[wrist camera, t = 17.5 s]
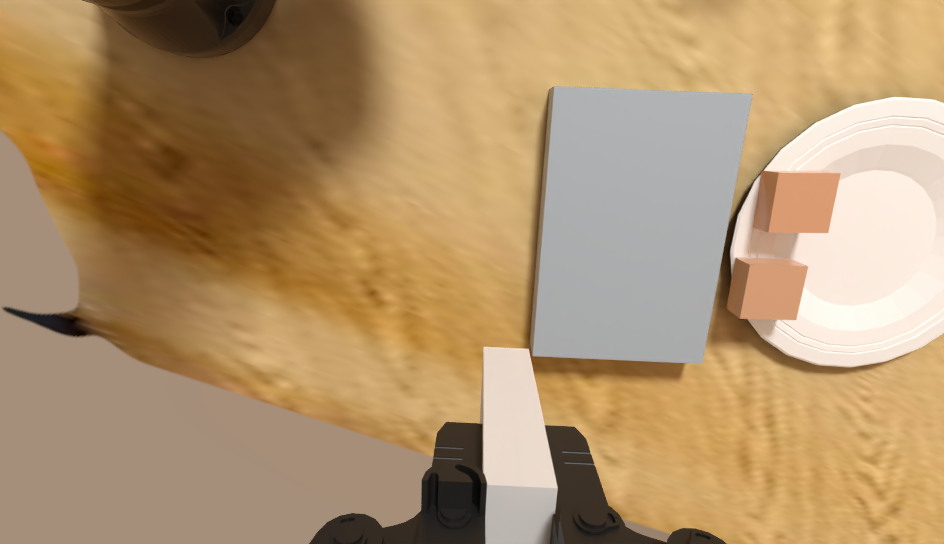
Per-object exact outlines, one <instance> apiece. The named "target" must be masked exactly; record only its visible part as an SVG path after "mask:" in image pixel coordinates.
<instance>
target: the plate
mask: <svg viewBox="0 0 944 544" xmlns="http://www.w3.org/2000/svg"><path fill="white" fill-rule="evenodd" d="M763 171H824V172H834V173H841V174H840V179H839V184H838V189H837V193H836V198H835V203H834V208H833V212H832V217H831V222H830V227H829V232H828V233H768V232H765V231H762V230H759V229H756V228H754V227H753V222H754V216H755V210H756V204H757V198H758V192H759V186H760V180H761V174H762V172H761V173H760V174H759V176H758V177H757V178H756V179H755V180H754V182H753V184H752V186H751V188H750V190H749V192H748V194H747V196H746V198H745V200H744V202H743V204H742V206H741V208H740V211H739V213H738V215H737V218H736V223H735V227H734V232H733V236H732V241H731V246H730V250H729V252H730V269H731V280H732V275H733V269H734V264H735V258H773V259H792V260H794V261H797V262H799V263H802V264H804V265H806V266H808V270H807V274H806V279H805V283H804V288H803V292H802V297H801V301H800V305H799V310H798V314H797V319H796V320H771V319H747V320H748V321H749V322H750V324H751V325H752V326H753V328H754V329H755V330H756V331H757V333H758V334H759V335H760V337H761V338H763V339H764V340H766V341H767V342H769V343H770V344H771V345H773V346H774V347H776V348H777V349H779V350H780V351H782V352H783V353H784V354H786V355H788V356H791V357H794V358H797V359H800V360H803V361H806V362H809V363H812V364H815V365H820V366H835V367H849V368H851V367H857V366H863V365H869V364H876V363H882V362H886V361H889V360H892V359H894V358H897V357H899V356H902V355H905V354H907V353H910V352H912V351H915V350H917V349H920V348H921V347H923V346H925V345H926V344H928V343H929V342H931V341H932V340H934V339H936V338H937V337H939V336H940V335H942V334H943V333H944V103H941V102H939V101H936V100H934V99H919V98H904V97H891V98H886V99H881V100H876V101H871V102H866V103H861V104H856V105H852V106H850V107H847V108H845V109H843V110H841V111H839V112H837V113H835V114H832V115H830V116H828V117H826V118H824V119H822V120H820V121H817V122H815V123H813V124H812V125H811V126H810V127H808V128H807V129H806V130H804V131H803V132H802V133H801V134H799V135H798V136H797V137H795V138H794V139H793V140H792V141H790V142H789V143H788V144H786V145H785V146H784V147H782V148H781V149H780V150H779V151H778V153H777V154H776V155H775V156H774V157H773V159H772V160H771V161H770V162H769V164H768V165H767V166H766V167H765V168H764V170H763Z"/></svg>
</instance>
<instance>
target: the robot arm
mask: <svg viewBox="0 0 944 544" xmlns="http://www.w3.org/2000/svg"><path fill="white" fill-rule="evenodd" d="M83 1H86V2H89V3H93V4H96V5H97V6H98V7H99V8H100V9H102V10H103V11H104V12H105V13H106V14H108V15H109V16H110V17H111V18H113V19H114V20H115V21H116V22H117V23H118V24H119V25H120V26H122V27H123V28H124V29H125V30H126V31H128V32H129V33H130V34H132V35H133V36H135V37H136V38H138V39H140V40H142V41H143V42H145V43H147V44H149V45H151V46H153V47H156V48H158V49H161V50H164V51H168V52H172V53H176V54H179V55H183V56H189V57H197V58H206V57H214V56H219V55H223V54H226V53H229V52H231V51H233V50H236V49H237V48H239V47H241V46H242V45H244V44H245V43H247V42H248V41H249V40H250V39H251V38H252V37H253V36H254V35H255V34H256V33H257V32H258V31H259V30H260V28H261V27H262V26H263V24H264V23H265V21H266V19H267V18H268V16H269V14H270V12H271V9H272V7H273V4H274V1H275V0H83ZM309 544H726V543H725V542H724V541H723V540H721V539H719V538H718V537H716V536H714V535H712V534H710V533H708V532H705V531H701V530H698V529H691V528H682V529H679V530H677V531H674V532H672V534H671V535H670V537H669V538H668V540H667V542H663V541H660V540H657V539H653V538H650V537H647V536H644V535H641V534H639V533H636V532H634V531H632V530H631V529H629V528H627V527H626V526H625V524H624V522H623V520H622V519H621V517H620V515H619V514H618V513H617V512H616V511H615V510H613V509H612V508H611V507H610V506H608V503H607V500H606V497H605V494H604V491H603V488H602V485H601V482H600V479H599V476H598V473H597V470H596V468H595V465H594V462H593V459H592V456H591V454H590V450H589V447H588V444H587V441H586V438H585V437H584V436H583V435H582V434H581V433H580V432H579V431H578V430H577V429H576V428H575V427H568V426H547V425H544V420H543V415H542V411H541V406H540V401H539V396H538V391H537V386H536V382H535V377H534V372H533V367H532V362H531V358H530V353H529V349H521V348H499V347H484V349H483V369H482V389H481V409H480V424H477V423H456V422H446V423H445V424H444V425H443V427H442V428H441V429H440V430H439V431H438V433H437V437H436V444H435V450H434V457H433V463H432V467H431V468H430V469H428V470H427V471H426V472H425V474H424V476H423V479H422V507H421V511H420V512H419V513H418V514H417V515H416V516H415V517H414V518H412V519H410V520H408V521H406V522H404V523H401V524H398V525H394V526H390V527H385V528H382V526H381V525H380V524H379V523H378V522H377V521H376V519H374V518H372V517H370V516H368V515H365V514H355V513H351V514H347V515H342V516H339V517H337V518H335V519H333V520H331V521H329V522H327V523H326V524H325V525H324V526H323V527H322V528H321V529H320V530H319V531H318V532H317V534H316V535H315V536H314V538H313V539H312V541H311V542H310V543H309Z"/></svg>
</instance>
